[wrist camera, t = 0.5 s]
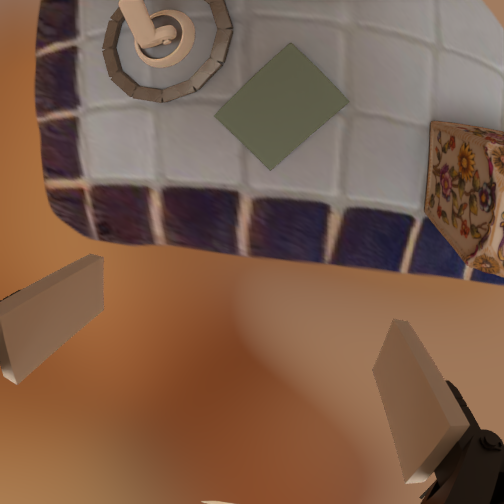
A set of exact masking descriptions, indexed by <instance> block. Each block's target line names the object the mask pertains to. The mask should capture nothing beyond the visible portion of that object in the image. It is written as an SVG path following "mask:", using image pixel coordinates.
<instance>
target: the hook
mask: <svg viewBox="0 0 504 504" xmlns="http://www.w3.org/2000/svg"><path fill="white" fill-rule="evenodd" d="M118 4H119V7H120V9H121V11H122V13H123V15H124V17H125V19H126V22H127V24H128V26H129V28H130V30H131V32H132V34H133V36H134V38H135V49H136V52H137V54H138V55H139V57H140V58H141V59H142V60H143V61H144V62H145V63H146V64H148V65H150V66H152V67H157V68H165V67H169V66H172V65H174V64H177V63H178V62H180V61H181V60H182V59H183V58H184V57H186V56H187V54H188V53H189V52H190V50H191V48H192V46H193V43H194V40H195V28H194V25H193V22H192V21H191V19H190V18H189V17H188V16H187V15H186V14H184V13H182V12H180V11H177V10H163V11H159V12H156V13H154V14H152V15H150V16H149V14H148V11H147V9H146V6H145V4H144V1H143V0H120V1H119V3H118ZM160 15H169V16H172V17H174V18H175V19H176V20H177V21H178V22H179V23H180V25H181V28H182V38H181V42H180V44H179V46H178V47H177V48H176V50H175V51H174V52H173V53H171V54H170V55H168V56H166V57H164V58H161V59H151V58H148V57H146V56H145V55H144V54H143V53H142V52H141V50H140V47H139V45H140V46H141V48H150V47H154V46H157V45H159V44H162V43H163V44H164V45H167V44H170V43H171V42H172V41H170V40H172V39H174V38H176V32H177V31H176V29H175V27H174V26H172V25H166V26H162V27H159V28H154V24H153V22H152V20H151V19H153V18H155V17H157V16H160Z"/></svg>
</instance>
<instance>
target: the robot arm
mask: <svg viewBox="0 0 504 504" xmlns="http://www.w3.org/2000/svg"><path fill="white" fill-rule="evenodd" d="M103 263H104V258H103V257H101V256H97V255H93V254H90V255H87V256H85V257H83V258H81V259H79V260H77V261H75V262H74V263H71V264H69V265H67V266H65V267H63V268H62V269H60V270H58V271H56V272H54V273H52V274H50V275H49V276H46V277H45V278H42V279H41V280H39V281H37V282H35V283H33V284H31V285H29V286H28V287H26V288H24V289H22V290H18V291H16V292H15V293H13V294H11V295H10V296H7V297H6V298H4V299H3V300H0V366H1V369H2V372H3V375H4V377H6V378H7V379H9V380H10V381H12V382H13V383H15V384H16V385H18V384H19V383H20V382H21V381H22V380H23V379H24V378H26V377H27V375H29V374H30V373H31V372H32V371H33V370H34V369H36V368H37V367H38V366H39V365H40V364H41V363H42V362H43V361H45V360H46V359H47V358H48V357H49V356H50V355H51V354H53V353H54V352H55V351H56V350H57V349H58V348H59V347H60V346H62V345H63V344H64V343H65V342H66V341H68V340H69V339H70V338H71V337H72V336H73V335H75V334H76V333H77V332H78V331H79V330H80V329H82V328H83V327H84V326H85V325H86V324H88V323H89V322H90V321H91V320H92V319H94V318H95V317H96V316H97V315H98V314H99V313H101V312H102V311H103V310H104V301H103V300H104V298H103ZM373 373H374V377H375V380H376V383H377V386H378V389H379V392H380V396H381V399H382V402H383V405H384V409H385V412H386V415H387V419H388V422H389V425H390V429H391V432H392V436H393V439H394V443H395V447H396V450H397V454H398V458H399V461H400V465H401V469H402V473H403V477H404V481H405V483H419V482H425V480H427V478H428V477H429V476H430V475H431V474H432V473H433V472H435V475H436V478H437V480H436V481H435V482H434V483H433V484H432V485H431V486H430V487H429V488H428V489H427V490H426V491H425V492H424V493H423V494H422V495H421V496H420V498H421V499H422V498H423V497H424V496H425V497H424V499H423V500H422V502H421V504H504V444H503V442H502V440H501V439H500V438H499V436H498V435H496V434H495V433H493V432H492V431H489V430H481V429H480V427H479V425H478V423H477V422H476V420H475V418H474V416H473V414H472V413H471V411H470V409H469V408H468V407H467V405H466V402H465V401H464V400H463V397H462V396H461V394H460V392H459V391H458V389H457V388H456V387H455V386H454V385H453V384H452V383H451V382H450V381H445V380H444V378H443V376H442V375H441V373H440V371H439V370H438V368H437V366H436V365H435V363H434V361H433V360H432V358H431V356H430V355H429V353H428V352H427V350H426V348H425V347H424V345H423V344H422V342H421V341H420V339H419V337H418V336H417V334H416V333H415V331H414V330H413V328H412V327H411V325H410V324H409V322H408V321H403V320H397V319H393V321H392V323H391V326H390V328H389V331H388V334H387V336H386V339H385V341H384V344H383V346H382V348H381V351H380V353H379V356H378V358H377V360H376V363H375V365H374V367H373Z"/></svg>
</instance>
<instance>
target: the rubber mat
mask: <svg viewBox="0 0 504 504" xmlns="http://www.w3.org/2000/svg"><path fill="white" fill-rule="evenodd" d="M347 103H349V101H348V100H347V99H346V97H345V96H344V95H343V94H342V93H341V92H340V91H339V90H338V89H337V88H336V87H335V86H334V85H333V84H332V82H331V81H330V80H329V79H328V78H327V77H326V76H325V75H324V74H323V73H322V72H321V71H320V70H319V69H318V68H317V67H316V66H315V65H314V64H313V63H312V62H311V61H310V60H309V59H308V58H307V57H306V56H304V55H303V54H302V53H301V52H300V51H299V50H298V49H297V48H296V47H295V46H294V45H293V44H292V43H290V44H289V45H287V46H286V47H285V48H284V49H283V50H282V51H281V52H280V53H278V54H277V55H276V56H275V57H274V58H273V59H272V60H271V61H270V62H268V63H267V64H266V65H265V66H264V67H263V68H262V69H261V70H260V71H259V72H258V73H257V74H256V75H254V76H253V77H252V78H251V79H250V80H249V81H248V82H247V83H246V84H245V85H244V86H243V87H242V88H241V89H240V90H239V91H238V92H237V93H236V94H235V95H234V96H233V97H232V98H231V99H230V100H229V101H228V102H227V103H226V104H225V105H224V106H223V107H222V108H221V109H220V110H219V111H218V112H217V113H216V114H215V115H214V117H215V118H217V119H218V120H219V121H220V122H221V123H222V124H223V125H224V126H225V127H226V128H227V129H228V130H229V131H230V132H231V133H232V134H233V135H234V136H235V137H237V138H238V139H239V140H240V141H241V142H242V143H243V144H244V145H245V146H246V147H247V148H248V149H249V150H250V151H251V152H252V153H253V154H254V155H255V156H256V157H257V158H258V159H259V160H260V161H261V162H262V163H263V164H264V165H265V166H266V167H267V168H268V169H269V170H270V171H271V170H272V169H273V168H274V167H275V166H276V165H277V164H279V163H280V162H281V161H282V160H283V159H284V158H285V157H286V156H287V155H289V154H290V153H291V152H292V151H293V150H294V149H295V148H296V147H298V146H299V145H300V144H301V143H302V142H303V141H304V140H306V139H307V138H308V137H309V136H310V135H311V134H312V133H314V132H315V131H316V130H317V129H318V128H319V127H320V126H322V125H323V124H324V123H325V122H326V121H327V120H329V119H330V118H331V117H332V116H333V115H334V114H336V113H337V112H338V111H339V110H340V109H342V108H343V107H344V106H345V105H346V104H347Z"/></svg>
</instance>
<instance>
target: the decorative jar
mask: <svg viewBox="0 0 504 504" xmlns="http://www.w3.org/2000/svg"><path fill="white" fill-rule="evenodd" d="M425 213H426V215H427V216H428V218H429V219H430V220H431V221H432V223H433V224H434V225H435V226H436V227H437V229H438V230H439V231H440V233H441V234H442V235H443V236H444V237H445V239H446V240H447V241H448V242H449V243H450V245H451V246H452V247H453V248H454V250H455V251H456V252H457V253H458V254H459V256H460V257H461V258H462V260H463V261H464V262H465V264H466V265H467V266H469V267H471V268H476V269H478V270H480V271H483V272H485V273H489V274H490V273H492V274H496V275H498V276H500V277H504V132H502V131H497V130H492V129H487V128H482V127H477V126H470V125H464V124H456V123H449V122H440V121H432V122H431V129H430V154H429V169H428V181H427V194H426V202H425Z"/></svg>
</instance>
